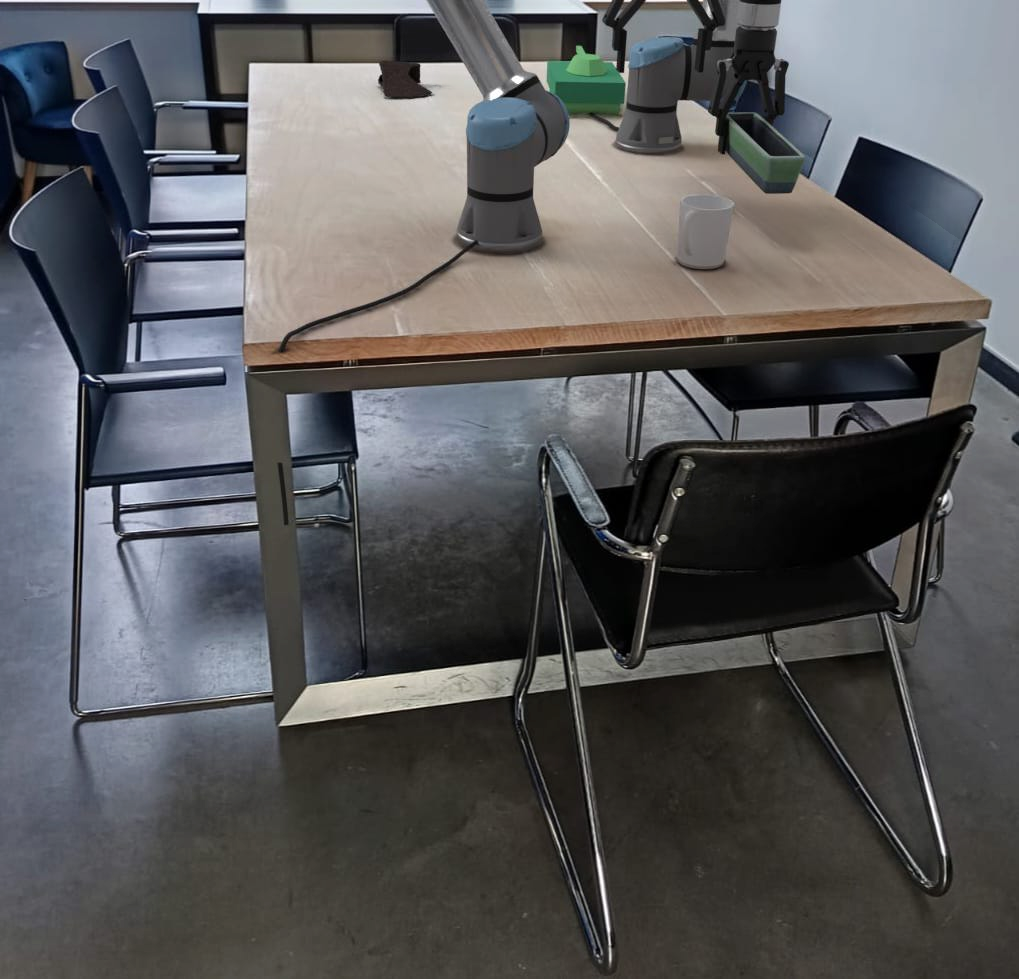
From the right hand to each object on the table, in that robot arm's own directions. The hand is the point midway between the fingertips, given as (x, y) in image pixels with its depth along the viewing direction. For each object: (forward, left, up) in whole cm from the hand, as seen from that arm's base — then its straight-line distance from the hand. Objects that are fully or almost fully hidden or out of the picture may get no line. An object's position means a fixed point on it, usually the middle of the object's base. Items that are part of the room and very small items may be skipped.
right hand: (740, 152), depth 214 cm
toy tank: (-90, 0, -10) cm, 91 cm away
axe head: (-114, -43, -10) cm, 122 cm away
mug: (+32, -23, -10) cm, 40 cm away
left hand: (+16, -26, +19) cm, 36 cm away
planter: (+10, -2, -1) cm, 10 cm away
